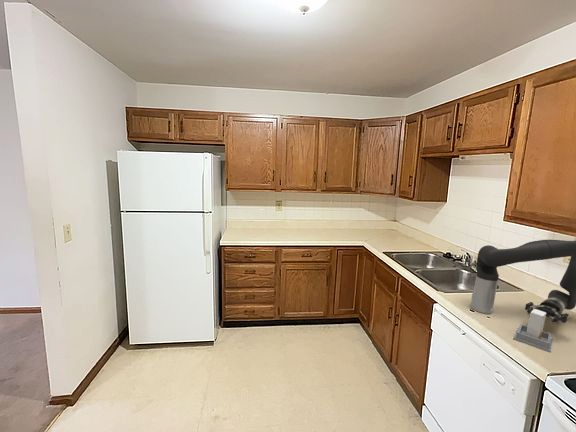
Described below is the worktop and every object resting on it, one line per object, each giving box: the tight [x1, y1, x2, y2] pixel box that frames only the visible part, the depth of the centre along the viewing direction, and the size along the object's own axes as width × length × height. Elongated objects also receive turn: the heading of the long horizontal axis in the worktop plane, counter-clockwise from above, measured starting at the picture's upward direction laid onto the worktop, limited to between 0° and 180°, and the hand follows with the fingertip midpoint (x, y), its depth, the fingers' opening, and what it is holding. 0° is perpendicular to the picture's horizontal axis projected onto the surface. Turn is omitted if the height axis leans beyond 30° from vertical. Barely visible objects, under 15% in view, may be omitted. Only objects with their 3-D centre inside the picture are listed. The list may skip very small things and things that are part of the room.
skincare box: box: [526, 308, 547, 339], centre depth 127 cm, size 6×4×12 cm
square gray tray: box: [513, 323, 553, 353], centre depth 128 cm, size 12×12×3 cm
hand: (541, 316), depth 130 cm, fingers open, 8 cm apart
